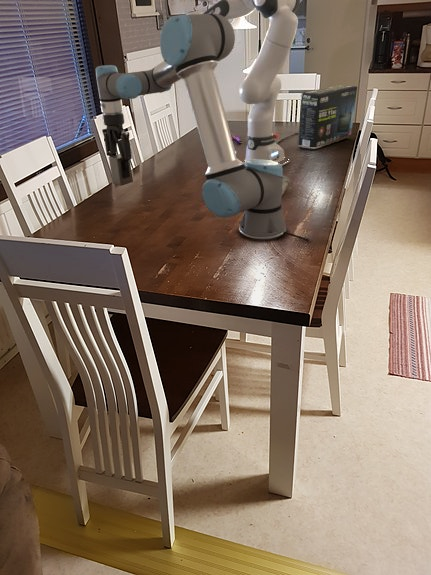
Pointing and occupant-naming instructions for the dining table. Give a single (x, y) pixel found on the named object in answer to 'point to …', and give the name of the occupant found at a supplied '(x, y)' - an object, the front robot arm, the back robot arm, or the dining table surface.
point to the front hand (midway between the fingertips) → (121, 175)
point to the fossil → (285, 183)
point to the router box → (326, 115)
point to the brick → (119, 171)
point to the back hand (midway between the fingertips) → (196, 82)
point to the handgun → (237, 139)
